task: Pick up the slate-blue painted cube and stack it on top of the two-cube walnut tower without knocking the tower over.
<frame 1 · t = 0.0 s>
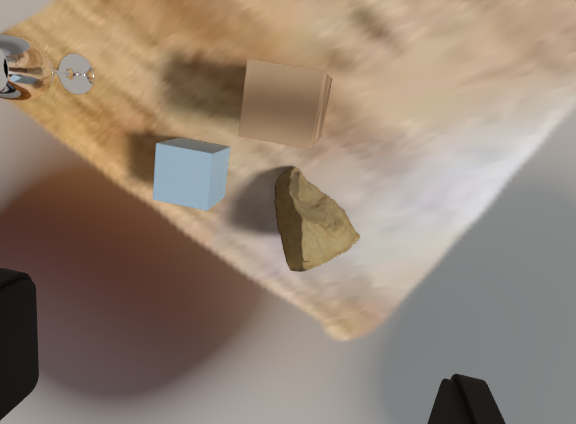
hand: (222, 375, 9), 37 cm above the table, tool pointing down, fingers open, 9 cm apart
rock: (317, 205, 46), on the table
wineglass: (77, 74, 46), on the table
blue block: (202, 167, 47), on the table
tower mid: (290, 103, 37), point 6 cm above the table, touching tower base
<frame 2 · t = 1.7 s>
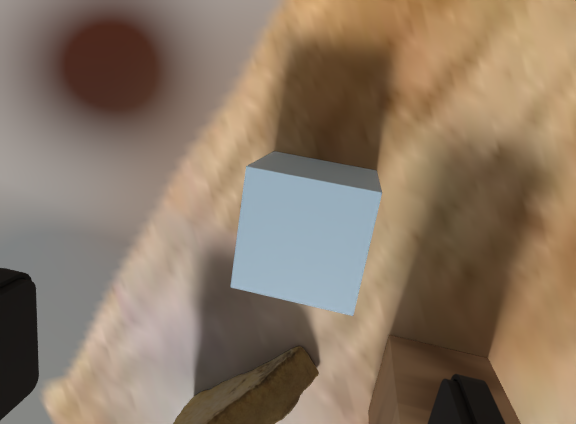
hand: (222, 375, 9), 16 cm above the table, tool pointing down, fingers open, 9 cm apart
tower base: (425, 386, 25), on the table, touching tower mid
rock: (254, 391, 28), on the table
blue block: (315, 209, 24), on the table
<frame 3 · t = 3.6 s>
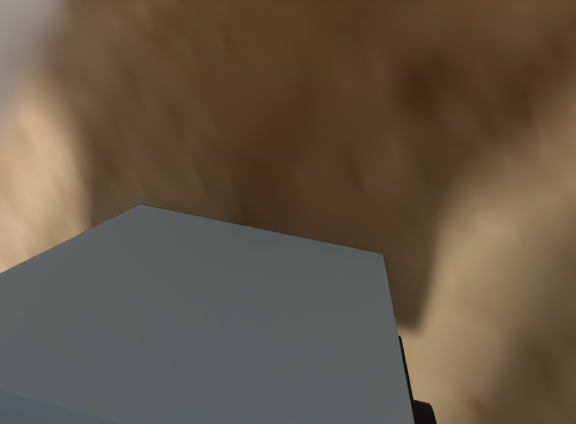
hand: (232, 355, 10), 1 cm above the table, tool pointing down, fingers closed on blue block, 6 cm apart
blue block: (242, 335, 10), on the table, touching gripper
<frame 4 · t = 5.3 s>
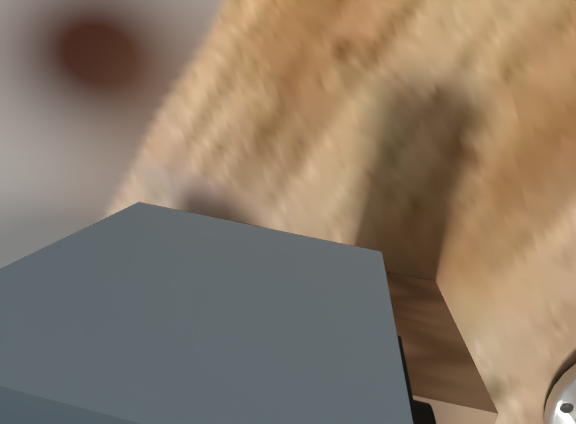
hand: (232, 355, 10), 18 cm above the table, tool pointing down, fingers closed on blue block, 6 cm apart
tower base: (382, 310, 29), on the table, touching tower mid
blue block: (241, 333, 10), point 17 cm above the table, touching gripper
tower mid: (391, 363, 23), point 6 cm above the table, touching tower base
when the fingers open (13 cm above the table, at t = 7.4 s): blue block stays where it is, resting on tower mid.
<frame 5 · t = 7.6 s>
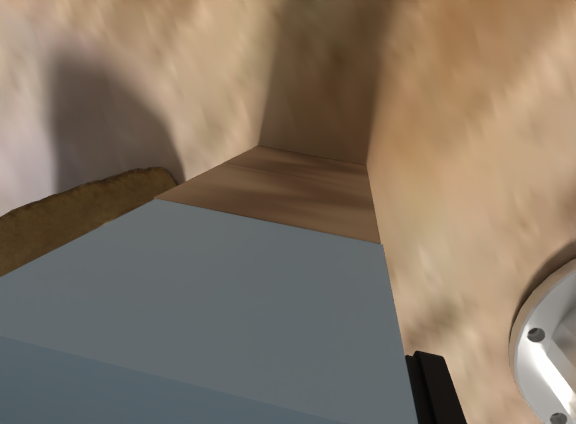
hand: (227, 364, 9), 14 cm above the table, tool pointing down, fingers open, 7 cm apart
tower base: (301, 207, 22), on the table, touching tower mid
rock: (122, 233, 25), on the table
blue block: (250, 321, 11), point 12 cm above the table, touching tower mid
tower mid: (284, 245, 17), point 6 cm above the table, touching blue block, tower base
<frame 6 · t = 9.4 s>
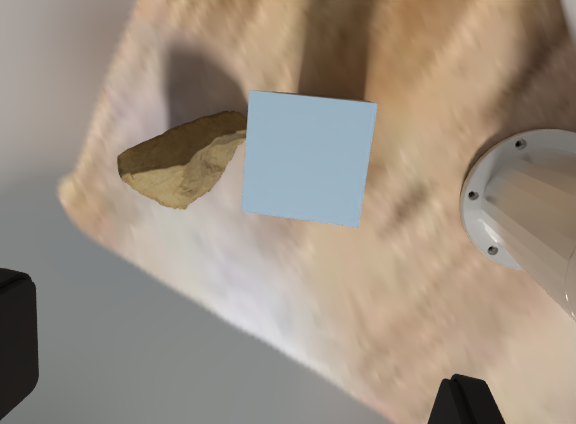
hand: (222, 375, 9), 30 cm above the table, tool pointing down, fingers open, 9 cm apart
rock: (211, 159, 39), on the table
blue block: (315, 146, 25), point 12 cm above the table, touching tower mid
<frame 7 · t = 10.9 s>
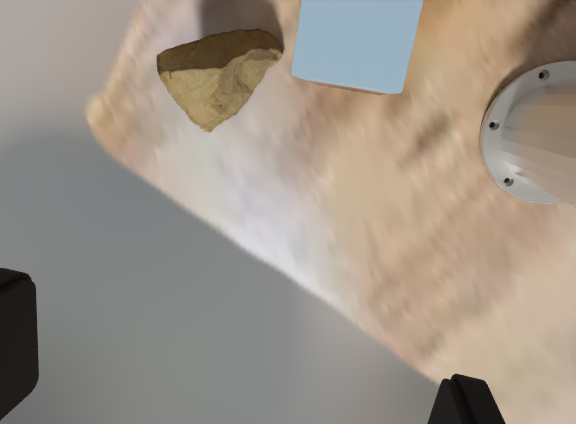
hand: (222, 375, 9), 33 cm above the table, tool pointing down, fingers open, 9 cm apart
rock: (239, 82, 40), on the table
blue block: (356, 39, 26), point 12 cm above the table, touching tower mid
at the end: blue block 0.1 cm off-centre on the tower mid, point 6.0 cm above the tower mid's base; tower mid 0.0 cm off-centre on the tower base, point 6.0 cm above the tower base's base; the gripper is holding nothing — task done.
